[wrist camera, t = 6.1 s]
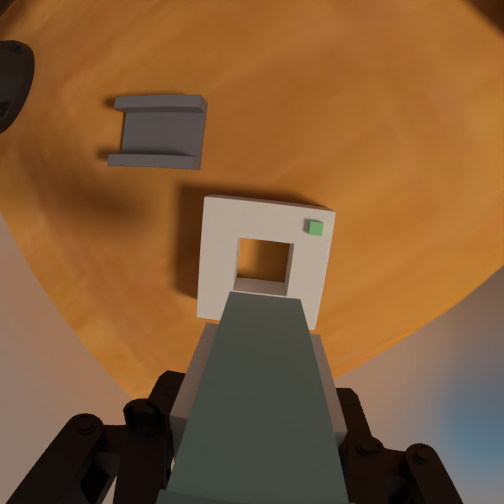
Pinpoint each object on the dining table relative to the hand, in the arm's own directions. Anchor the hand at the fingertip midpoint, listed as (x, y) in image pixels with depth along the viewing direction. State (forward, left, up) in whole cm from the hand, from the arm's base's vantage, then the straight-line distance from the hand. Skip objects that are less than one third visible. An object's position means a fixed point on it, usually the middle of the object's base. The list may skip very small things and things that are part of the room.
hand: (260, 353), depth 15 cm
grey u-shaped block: (-12, +12, -19) cm, 25 cm away
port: (0, 0, -19) cm, 19 cm away
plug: (0, 0, -3) cm, 3 cm away
